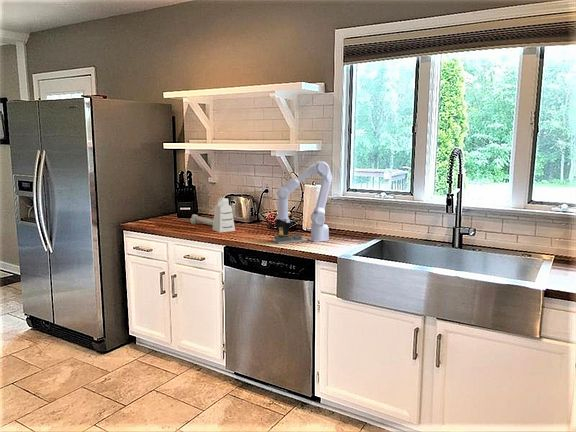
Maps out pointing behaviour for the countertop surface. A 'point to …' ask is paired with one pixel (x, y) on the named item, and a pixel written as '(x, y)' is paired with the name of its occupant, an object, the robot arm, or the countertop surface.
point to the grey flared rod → (196, 218)
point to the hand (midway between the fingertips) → (282, 233)
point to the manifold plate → (289, 239)
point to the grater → (223, 216)
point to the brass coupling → (281, 232)
